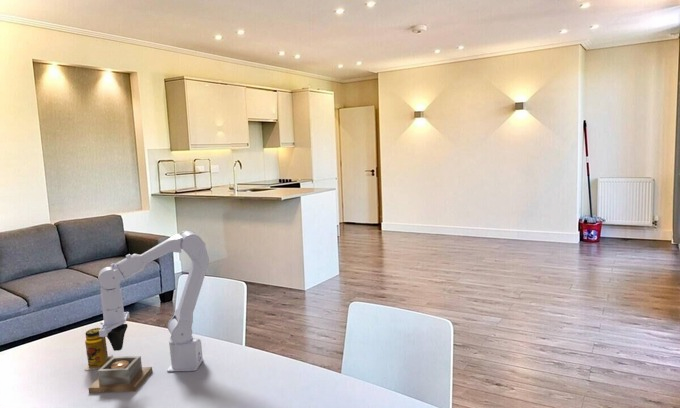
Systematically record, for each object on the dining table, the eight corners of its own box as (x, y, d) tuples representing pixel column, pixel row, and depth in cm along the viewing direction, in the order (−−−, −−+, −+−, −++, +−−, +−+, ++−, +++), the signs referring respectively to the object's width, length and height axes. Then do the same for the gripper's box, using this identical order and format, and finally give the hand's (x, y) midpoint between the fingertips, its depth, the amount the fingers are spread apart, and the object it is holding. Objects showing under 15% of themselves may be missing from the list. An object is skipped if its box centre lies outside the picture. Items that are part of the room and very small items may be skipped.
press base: (152, 371, 152) (150, 353, 151) (135, 391, 140) (133, 372, 139) (109, 372, 153) (107, 355, 152) (88, 392, 141) (86, 373, 140)
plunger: (135, 370, 149) (133, 359, 149) (126, 380, 143) (124, 368, 143) (116, 371, 149) (115, 360, 149) (106, 381, 143) (105, 369, 143)
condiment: (85, 371, 155) (80, 336, 153) (90, 359, 163) (85, 326, 161) (109, 366, 157) (105, 332, 155) (113, 356, 165) (109, 323, 163)
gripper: (111, 299, 150) (116, 339, 152) (86, 316, 136) (92, 361, 138) (133, 298, 150) (138, 339, 152) (110, 315, 136) (116, 360, 138)
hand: (118, 349), depth 145 cm, fingers closed
